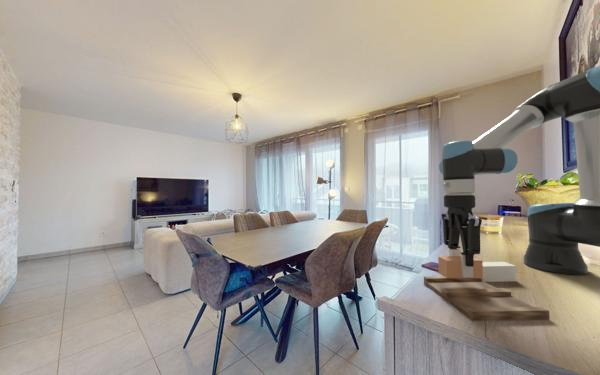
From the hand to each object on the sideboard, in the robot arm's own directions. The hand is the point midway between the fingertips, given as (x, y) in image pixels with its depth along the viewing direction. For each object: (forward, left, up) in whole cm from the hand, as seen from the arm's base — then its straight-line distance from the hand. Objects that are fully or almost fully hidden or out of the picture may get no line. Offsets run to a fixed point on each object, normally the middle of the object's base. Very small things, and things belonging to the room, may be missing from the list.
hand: (461, 273), depth 64 cm
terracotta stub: (0, 0, -1) cm, 1 cm away
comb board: (0, +5, -5) cm, 7 cm away
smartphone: (-5, -15, -5) cm, 17 cm away
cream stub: (-16, -7, -5) cm, 18 cm away
